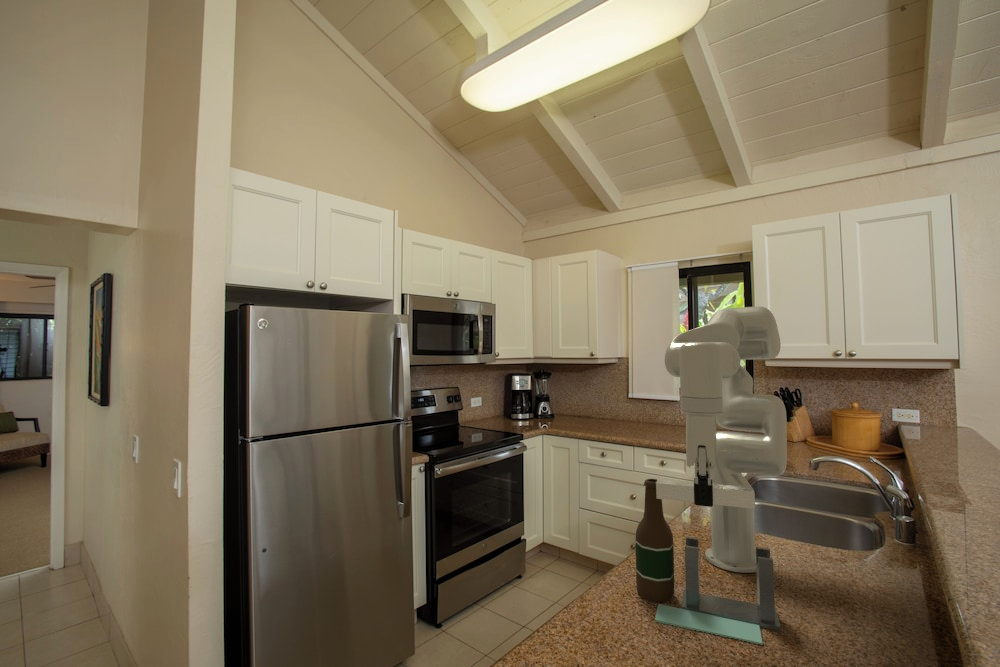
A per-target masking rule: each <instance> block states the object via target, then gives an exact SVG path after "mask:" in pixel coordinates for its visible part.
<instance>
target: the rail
mask: <svg viewBox="0 0 1000 667" xmlns="http://www.w3.org/2000/svg"><path fill="white" fill-rule="evenodd" d="M656 479H657V482H656V494H657V499H662V500H666V501H667V500H668V501H677V502H685V503H686V502H687V503H694V483H695V482H693V481H682V480H670V479H669V480H668V479H660V478H659V479H658V478H656ZM711 485H712V486H713V504H714V505H723V506H733V507H743V508H752V509H754V510H755V509H756V499H755V498H756V494H755V490H754V487H752V486H751V487H741V486H729V485H718V484H711Z"/></svg>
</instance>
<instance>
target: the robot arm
mask: <svg viewBox="0 0 1000 667" xmlns="http://www.w3.org/2000/svg"><path fill="white" fill-rule="evenodd" d="M775 318H776V317H775V315H774V314H773V313H772V311H771V310H770V309H768V308H767V307H764V306H745V307H744V306H743V307H729V308H723V309H719V310H717V311H715V312H714V313H713V314H712V315H711V316H710V318H709V319H708V321H707V322H706V324H704V325H703V324H702V325H701V326H697V327H696V328H693V329H690V330H686V331H684V332H681V333H679V334H677V335H676V336H674V337H673V339H672V340H671V341H670V342H669V344H668V346H667V347H666V350H665V354H664V366H665V369H666V371H667V372H668V374H670V375H671V376H672V377H676V378H679V387H680V388H679V390H680V391H679V394H680V395H679V397H680V398H679V399H680V401H679V402H680V414H682V415H686V418H685V450H686V451H685V452H686V453H685V455H686V458H685V460H686V462H685V464H686V466H687V468H689V469H690V468H691V467H694V478H693V479H694V480H693V481H694V482H695V483H694V502H693V503H694V505H695V506H699V507H708V508H710V521H711V524H710V525H711V547H709V548H707V549H706V550H705V552H704V553H705V559H706V560H707V561H708V562H709V563H710V564H712V565H714V566H716V567H717V568H720V569H722V570H726V571H730V572H733V573H742V574H743V573H744V574H750V573H751V574H752V573H757V571H756V540H755V539H756V538H755V537H756V535H755V509H752V508H743V507H733V506H723V505H714V504H713V486H712V485H711V484H718V485H729V486H741V487H752V486H751V484H750V482H748V480H747V479H746V478H745V476H744V475H743V474H751V475H752V474H753V475H761V476H767V477H768V476H770V477H778V476H780V477H781V475H783V474H784V473H785V471H786V469H787V463H788V462H787V461H788V459H787V458H788V441H787V440H788V439H787V438H788V436H787V434H788V424H787V422H788V420H787V410H786V405H785V404H784V401H783V400H782V399H781V398H780V397H779V396H776V395H773V394H766V393H765V394H764V393H763V394H761V393H758V394H757V393H754V392H753V391H754V380H753V377H752V376H751V375H752V374H751V375H750V373H749V372H748V371H747V369H745V368H744V367H743V366H742V365H741V360H743V361H744V360H746V361H747V360H748V361H749V360H752V361H753V360H754V361H755V360H756V361H757V360H758V361H759V360H760V361H761V360H772V359H776V357H778V355H779V354H780V351H781V337H780V332H779V329H778V328H779V327H778V324H777V320H776V319H775ZM717 425H718V426H719V427H721V428H723V429H727V430H721V431H720V430H718V431H717ZM730 430H731V431H730ZM743 431H744V432H743ZM751 432H752V433H751ZM753 432H754V433H753Z"/></svg>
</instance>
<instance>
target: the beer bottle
mask: <svg viewBox="0 0 1000 667" xmlns="http://www.w3.org/2000/svg"><path fill="white" fill-rule="evenodd" d="M657 479H658V478H647V479H645V480H644V482H643V485H644V487H645V489H644V509H643V510H644V511H643V515H642V516H643V517H642V519H641V520H640V521H639V523H638V525H637V528H636V531H635V540H634V541H635V576H636V579H635V582H636V591H637V594H639V595H640V596H641V597H642V598H643V600H647V601H650V602H653V603H657V604H660V603H667V601H669V602H671V601H672V598H673V597H674V595H675V558H674V556H675V554H674V550H675V549H674V537H673V536H674V534H673V532H672V530H671V527H670V525H669V524H668V522H667V521H666V519H665V515H664V509H663V499H657V494H656V482H657Z"/></svg>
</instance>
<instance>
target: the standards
mask: <svg viewBox="0 0 1000 667" xmlns="http://www.w3.org/2000/svg"><path fill="white" fill-rule="evenodd" d="M699 546H700V545H699V538H698V537H691V536H685V545H684V562H685V563H684V567H685V573H684V574H685V589H683V591H682V602H681V609H686V610H690V611H695V612H700V613H705V614H710V615H715V616H719V617H724V618H729V619H734V620H739V621H744V622H748V623H753V624H758V625H759V626H760V628H762V629H767V630H773V631H776V632H777V631H778V632H782V627H781V623H780V619H779V616H778V612H777V608H776V607H775V578H774V577H775V575H774V574H775V573H774V559H773V558H772V557H771V549H770V548H768V547H760V546H755V554H756V571H757V572H756V594H757V595H756V597H757V598H756V600H757V601H756V602H757V603H752V602H748V601H742V600H738V599H734V598H733V599H732V598H726V597H722V596H717V595H712V594H706V593H701V591H700V588H701V587H700V557H699V556H700V554H699V553H700V550H699Z"/></svg>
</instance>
